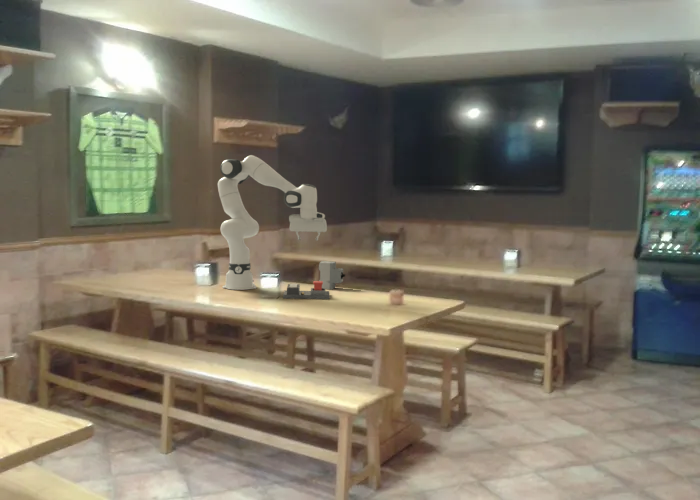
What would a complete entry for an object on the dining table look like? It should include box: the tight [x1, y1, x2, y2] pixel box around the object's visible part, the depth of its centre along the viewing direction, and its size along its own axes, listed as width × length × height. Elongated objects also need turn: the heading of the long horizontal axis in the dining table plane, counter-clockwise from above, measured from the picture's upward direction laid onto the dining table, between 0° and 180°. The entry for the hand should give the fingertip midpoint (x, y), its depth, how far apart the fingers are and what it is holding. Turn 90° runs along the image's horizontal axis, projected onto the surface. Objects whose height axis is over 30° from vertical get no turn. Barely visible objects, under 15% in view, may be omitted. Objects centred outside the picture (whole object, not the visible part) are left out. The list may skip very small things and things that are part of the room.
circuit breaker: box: [318, 260, 346, 290], centre depth 391 cm, size 8×14×15 cm, turn 78°
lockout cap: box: [312, 280, 323, 290], centre depth 362 cm, size 5×5×6 cm
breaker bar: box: [289, 283, 298, 288], centre depth 361 cm, size 11×4×3 cm, turn 3°
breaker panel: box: [282, 283, 330, 300], centre depth 361 cm, size 14×24×6 cm, turn 93°
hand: (308, 240), depth 369 cm, fingers open, 8 cm apart
